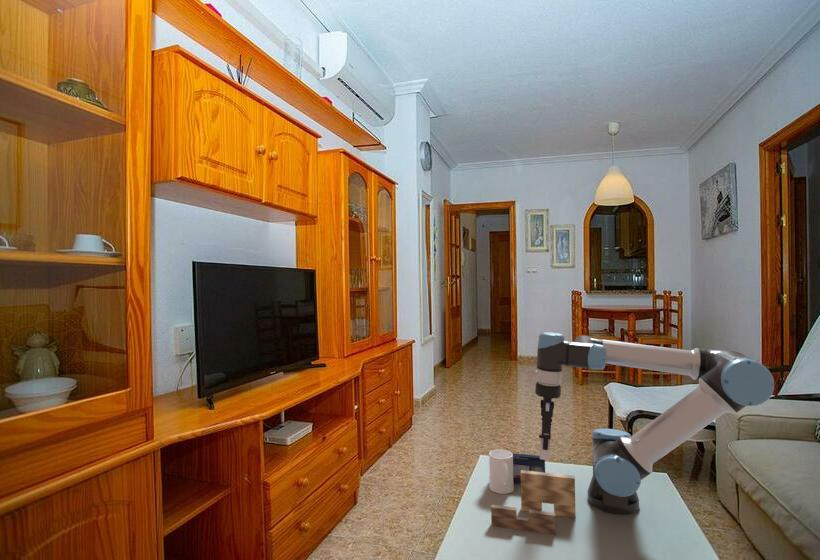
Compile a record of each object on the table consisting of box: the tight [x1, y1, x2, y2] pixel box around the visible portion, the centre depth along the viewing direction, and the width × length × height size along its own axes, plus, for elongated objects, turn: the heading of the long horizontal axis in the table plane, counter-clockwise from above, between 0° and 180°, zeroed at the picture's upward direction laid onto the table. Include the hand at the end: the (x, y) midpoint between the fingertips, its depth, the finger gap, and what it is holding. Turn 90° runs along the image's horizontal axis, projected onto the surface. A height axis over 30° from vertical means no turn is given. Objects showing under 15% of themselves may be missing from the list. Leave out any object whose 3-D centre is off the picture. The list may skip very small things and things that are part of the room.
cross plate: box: [520, 470, 577, 519], centre depth 137 cm, size 16×2×12 cm, turn 72°
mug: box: [488, 449, 515, 495], centre depth 152 cm, size 12×8×12 cm
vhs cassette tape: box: [511, 452, 546, 485], centre depth 158 cm, size 18×3×10 cm, turn 72°
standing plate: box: [490, 504, 556, 536], centre depth 129 cm, size 18×2×6 cm, turn 73°
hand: (544, 450), depth 137 cm, fingers open, 13 cm apart
